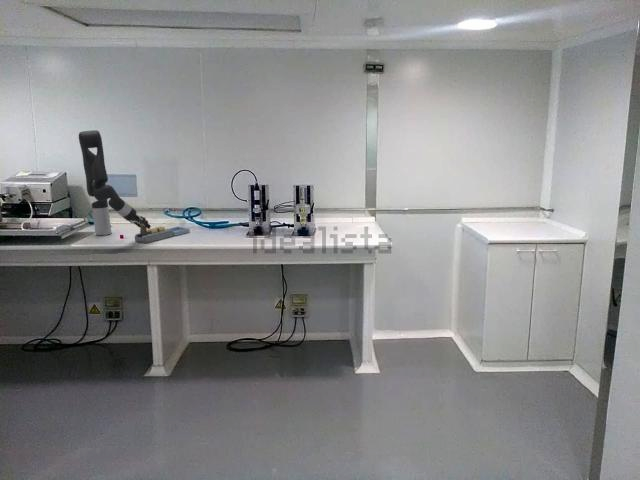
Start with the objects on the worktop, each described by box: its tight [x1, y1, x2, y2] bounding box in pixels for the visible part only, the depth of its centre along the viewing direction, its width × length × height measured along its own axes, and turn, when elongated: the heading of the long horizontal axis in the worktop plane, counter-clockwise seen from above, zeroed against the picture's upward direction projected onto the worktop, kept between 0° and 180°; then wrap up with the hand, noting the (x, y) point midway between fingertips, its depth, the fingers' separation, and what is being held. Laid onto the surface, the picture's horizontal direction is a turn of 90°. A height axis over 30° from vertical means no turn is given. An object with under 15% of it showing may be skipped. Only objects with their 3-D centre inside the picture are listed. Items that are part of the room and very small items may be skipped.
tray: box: [165, 226, 190, 237], centre depth 308 cm, size 12×11×2 cm
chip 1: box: [147, 227, 157, 234], centre depth 293 cm, size 4×4×3 cm
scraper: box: [139, 216, 148, 236], centre depth 287 cm, size 2×4×11 cm, turn 56°
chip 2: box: [154, 226, 166, 232], centre depth 298 cm, size 4×4×3 cm
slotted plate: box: [134, 228, 174, 244], centre depth 295 cm, size 20×10×4 cm, turn 146°
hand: (145, 226), depth 288 cm, fingers open, 8 cm apart
